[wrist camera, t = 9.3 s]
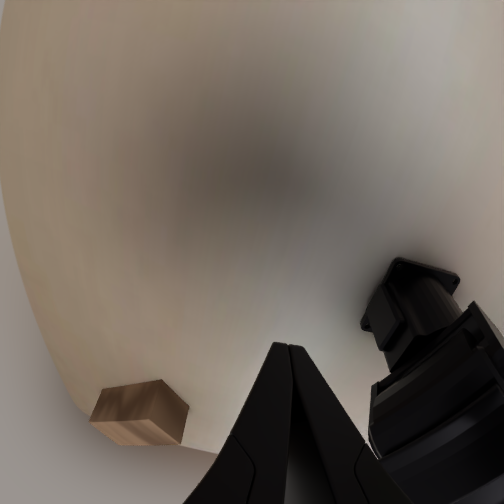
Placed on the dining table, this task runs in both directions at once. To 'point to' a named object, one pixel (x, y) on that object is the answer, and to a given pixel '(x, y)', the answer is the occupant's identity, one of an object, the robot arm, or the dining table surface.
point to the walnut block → (141, 414)
